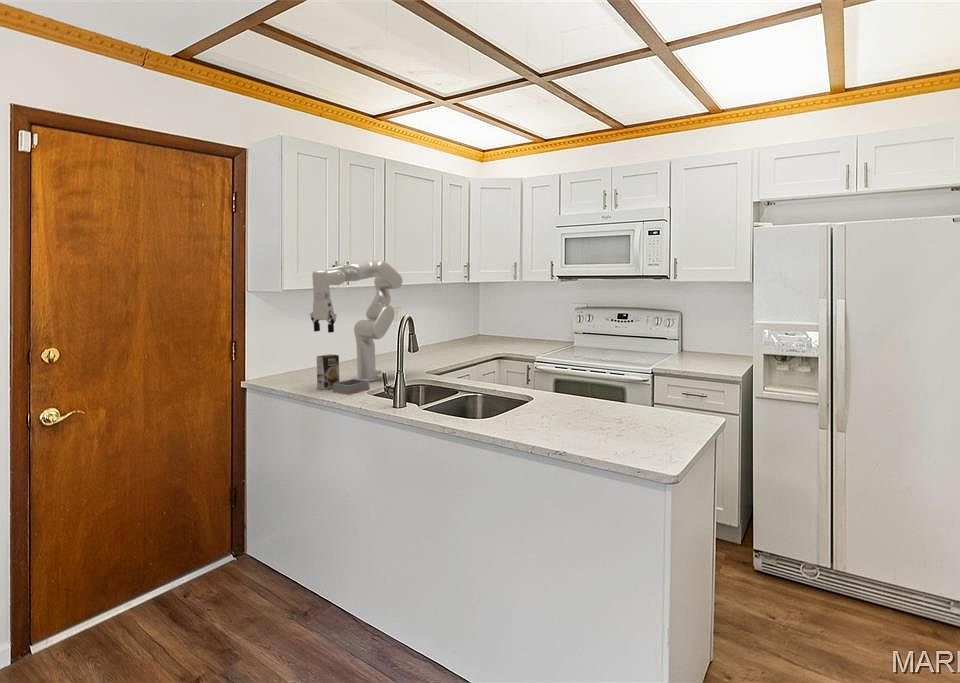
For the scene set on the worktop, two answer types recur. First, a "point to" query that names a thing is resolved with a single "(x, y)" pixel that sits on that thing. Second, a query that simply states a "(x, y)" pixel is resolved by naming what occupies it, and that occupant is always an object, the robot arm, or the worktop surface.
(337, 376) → the coffee box
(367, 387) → the dock
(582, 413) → the worktop surface
